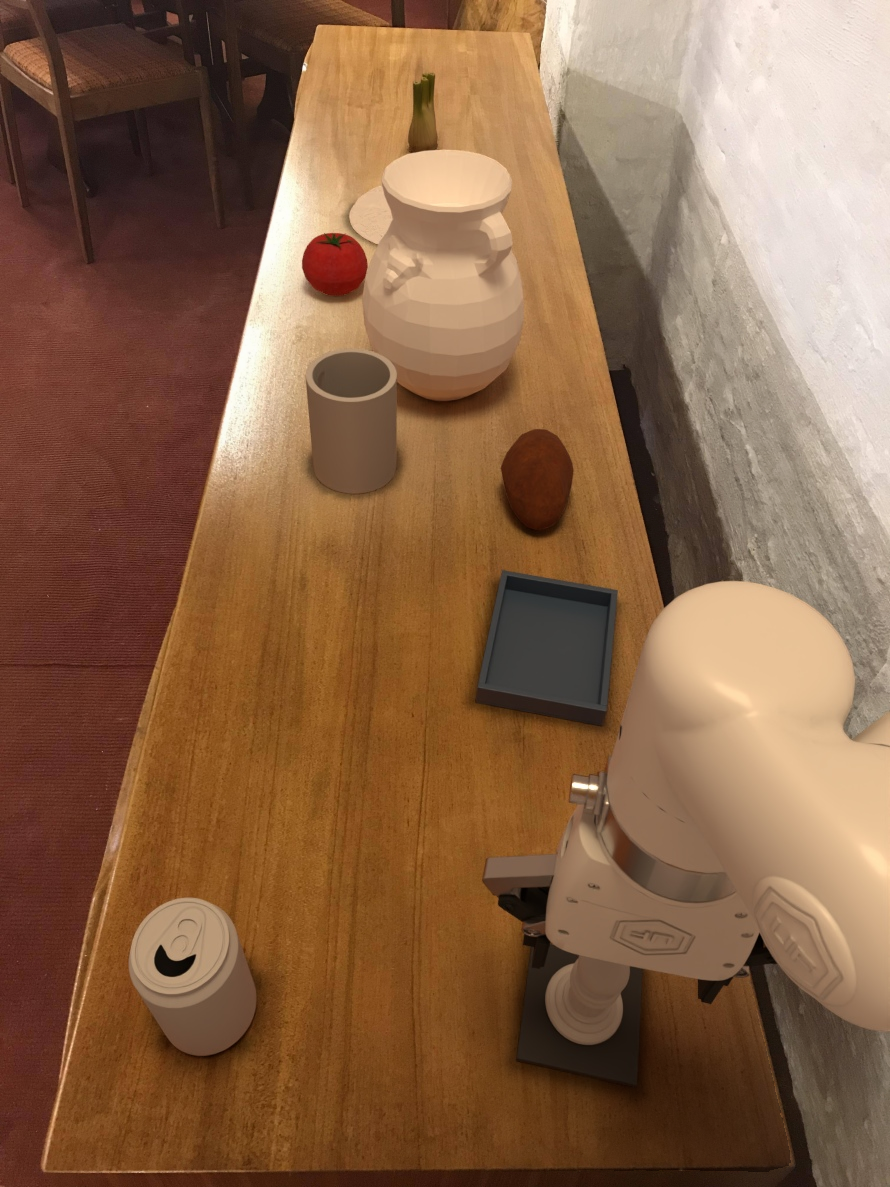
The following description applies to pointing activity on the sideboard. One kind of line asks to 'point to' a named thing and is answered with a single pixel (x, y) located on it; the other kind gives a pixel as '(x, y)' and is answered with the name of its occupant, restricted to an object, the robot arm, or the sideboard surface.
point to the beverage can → (193, 975)
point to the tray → (549, 648)
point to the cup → (353, 419)
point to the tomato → (334, 264)
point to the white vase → (445, 275)
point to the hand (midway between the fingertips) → (621, 960)
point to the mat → (557, 1052)
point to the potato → (537, 478)
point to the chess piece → (587, 999)
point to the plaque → (371, 215)
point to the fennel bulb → (423, 116)
